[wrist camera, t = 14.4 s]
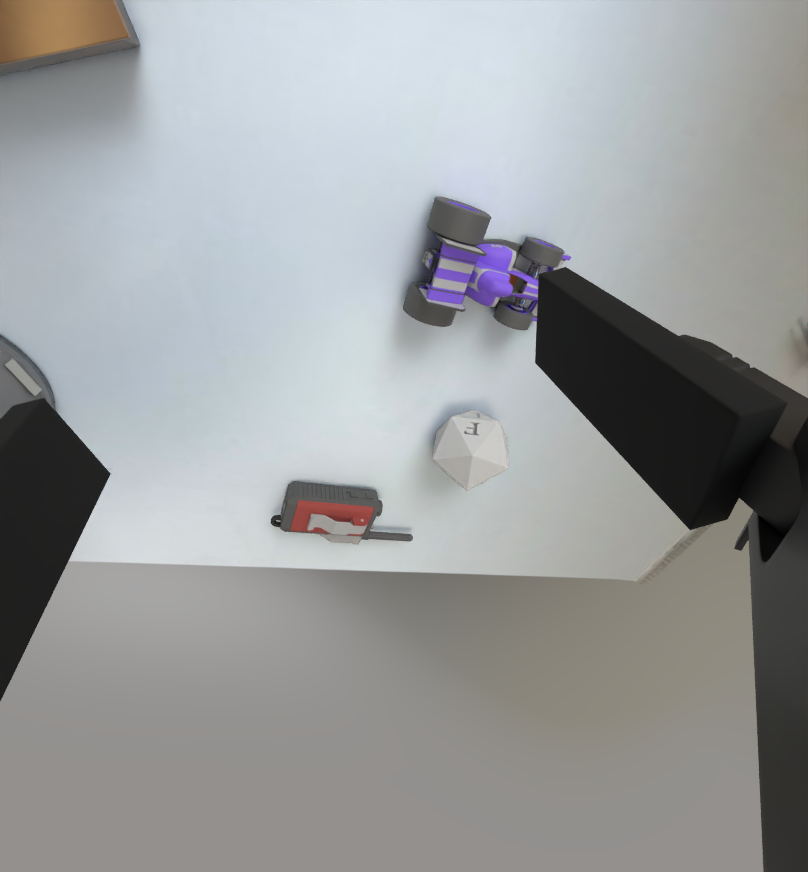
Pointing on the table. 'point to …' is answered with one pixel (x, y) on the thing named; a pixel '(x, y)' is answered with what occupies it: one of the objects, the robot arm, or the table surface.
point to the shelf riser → (60, 31)
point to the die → (471, 448)
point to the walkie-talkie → (333, 513)
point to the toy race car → (477, 269)
